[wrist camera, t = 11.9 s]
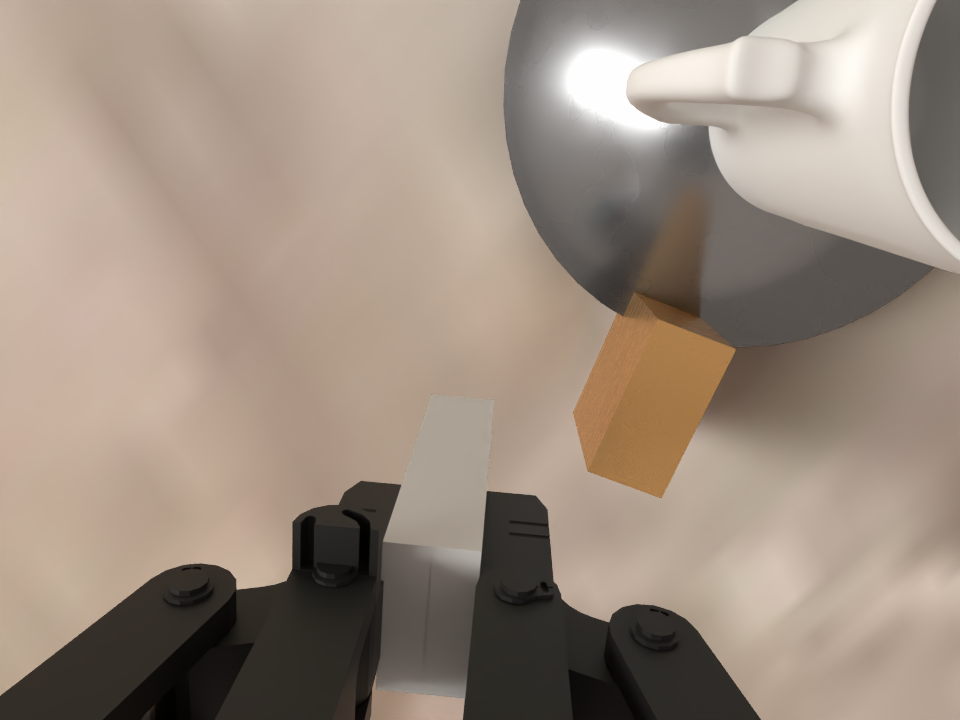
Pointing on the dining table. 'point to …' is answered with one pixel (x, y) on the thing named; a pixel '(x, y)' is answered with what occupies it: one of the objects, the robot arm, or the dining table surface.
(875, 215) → the mug
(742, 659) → the dining table surface
